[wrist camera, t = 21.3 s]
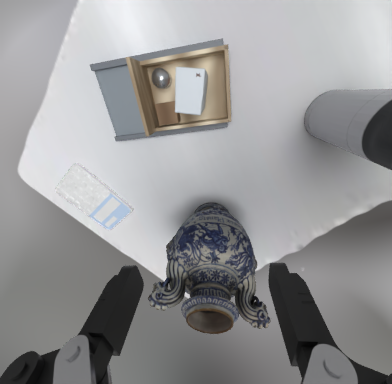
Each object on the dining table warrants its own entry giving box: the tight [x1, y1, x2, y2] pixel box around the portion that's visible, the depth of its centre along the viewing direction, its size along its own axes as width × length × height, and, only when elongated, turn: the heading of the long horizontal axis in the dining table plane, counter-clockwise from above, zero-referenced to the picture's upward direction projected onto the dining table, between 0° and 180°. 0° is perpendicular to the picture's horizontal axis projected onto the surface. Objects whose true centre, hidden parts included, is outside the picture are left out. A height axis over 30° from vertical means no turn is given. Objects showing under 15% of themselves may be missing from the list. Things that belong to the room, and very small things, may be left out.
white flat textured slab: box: [55, 163, 133, 230], centre depth 53 cm, size 13×20×2 cm, turn 43°
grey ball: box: [152, 68, 172, 89], centre depth 34 cm, size 3×3×3 cm
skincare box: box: [175, 67, 208, 115], centre depth 31 cm, size 6×4×12 cm
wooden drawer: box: [126, 44, 231, 136], centre depth 33 cm, size 16×12×9 cm
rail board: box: [90, 39, 228, 141], centre depth 38 cm, size 26×15×2 cm, turn 98°
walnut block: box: [155, 101, 181, 125], centre depth 37 cm, size 4×4×3 cm
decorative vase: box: [148, 203, 270, 334], centre depth 41 cm, size 21×19×28 cm
